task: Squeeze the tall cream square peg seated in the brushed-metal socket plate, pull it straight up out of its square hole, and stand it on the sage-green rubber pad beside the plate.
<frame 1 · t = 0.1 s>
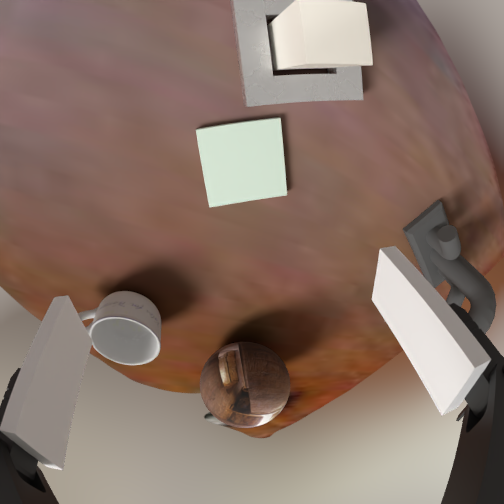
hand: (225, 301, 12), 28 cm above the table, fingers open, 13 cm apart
peg: (312, 39, 25), in the socket plate
teacup: (123, 304, 46), on the table
faucet: (418, 258, 50), on the table
pad: (242, 161, 37), on the table
socket plate: (295, 46, 30), on the table
bronze metal ball: (239, 351, 55), on the table
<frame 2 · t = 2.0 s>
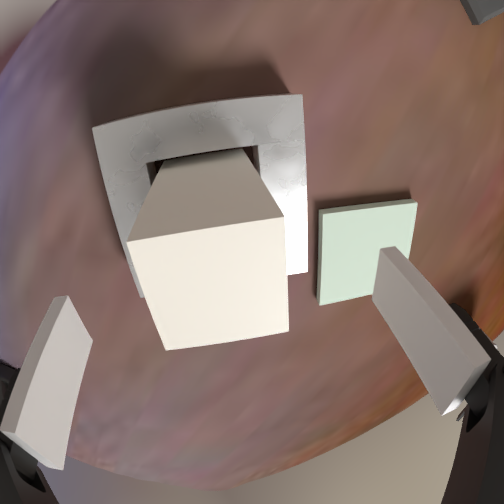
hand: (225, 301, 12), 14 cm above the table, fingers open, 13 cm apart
peg: (210, 225, 18), in the socket plate
faucet: (500, 5, 16), on the table
pad: (365, 250, 29), on the table
socket plate: (208, 190, 24), on the table
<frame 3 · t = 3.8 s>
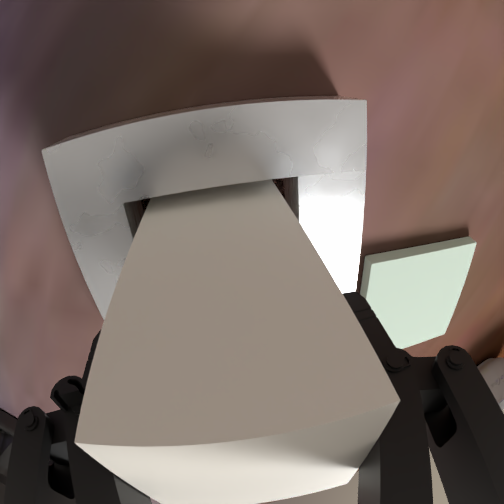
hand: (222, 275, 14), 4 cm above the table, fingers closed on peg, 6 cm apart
peg: (226, 314, 11), in the socket plate, touching gripper
teacup: (469, 378, 35), on the table
pad: (411, 298, 22), on the table
socket plate: (218, 234, 17), on the table
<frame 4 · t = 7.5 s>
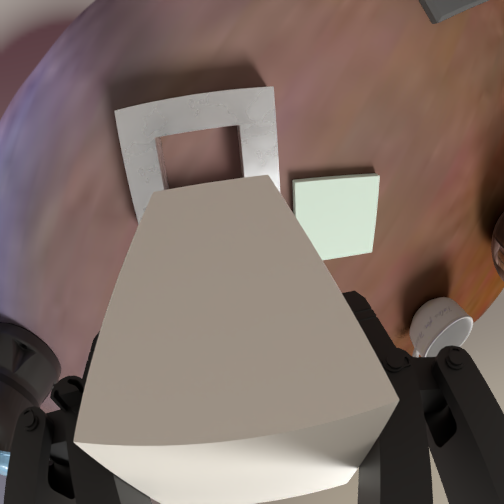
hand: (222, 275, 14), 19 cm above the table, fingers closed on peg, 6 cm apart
peg: (226, 313, 11), point 22 cm above the table, touching gripper
teacup: (421, 318, 48), on the table
faucet: (464, 5, 21), on the table
pad: (335, 217, 35), on the table
socket plate: (202, 162, 29), on the table
bronze metal ball: (500, 224, 40), on the table
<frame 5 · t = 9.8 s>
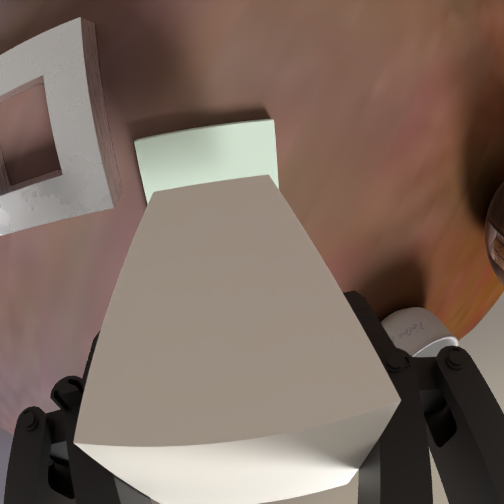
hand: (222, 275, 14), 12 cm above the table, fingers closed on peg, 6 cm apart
peg: (226, 313, 11), point 14 cm above the table, touching gripper
teacup: (386, 335, 37), on the table
pad: (212, 189, 23), on the table
socket plate: (31, 133, 18), on the table
bronze metal ball: (497, 205, 29), on the table
when the fingers open (7 cm above the table, at t = 11.4 s): peg drops 2 cm, resting on pad.
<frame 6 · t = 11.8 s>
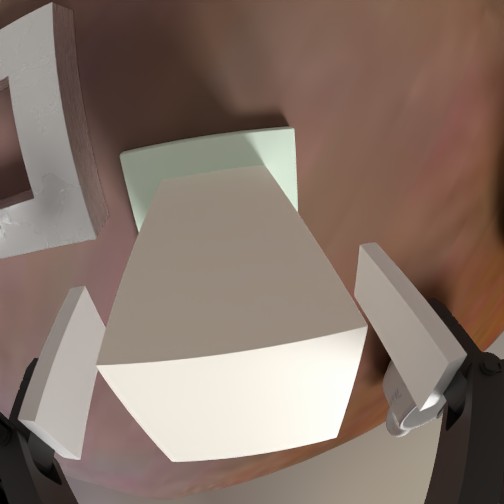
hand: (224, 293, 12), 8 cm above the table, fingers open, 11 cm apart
peg: (226, 282, 13), on the pad, point 8 cm above the table
teacup: (403, 360, 32), on the table
pad: (216, 212, 19), on the table
socket plate: (2, 145, 14), on the table
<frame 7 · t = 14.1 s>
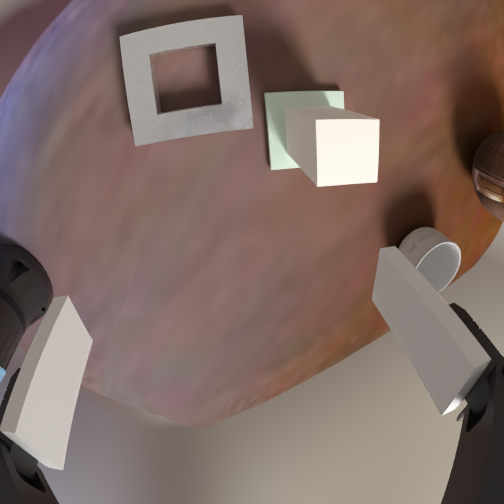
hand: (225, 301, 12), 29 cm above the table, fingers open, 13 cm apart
peg: (325, 138, 30), on the pad, point 8 cm above the table
teacup: (408, 253, 49), on the table
pad: (305, 128, 37), on the table
socket plate: (187, 78, 32), on the table
bronze metal ball: (482, 161, 41), on the table
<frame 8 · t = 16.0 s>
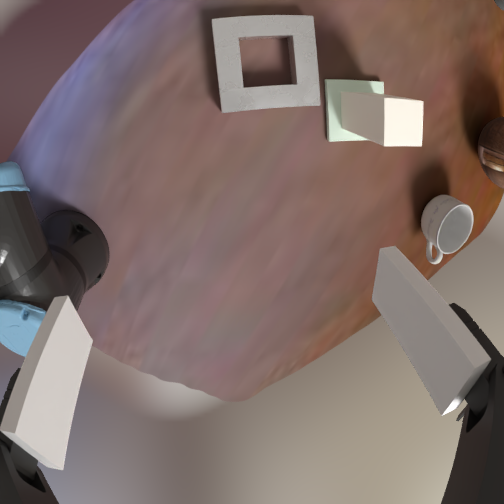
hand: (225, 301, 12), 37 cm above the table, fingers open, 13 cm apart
peg: (378, 115, 37), on the pad, point 8 cm above the table
teacup: (429, 218, 56), on the table
pad: (354, 109, 43), on the table
socket plate: (264, 62, 38), on the table
bronze metal ball: (484, 142, 48), on the table
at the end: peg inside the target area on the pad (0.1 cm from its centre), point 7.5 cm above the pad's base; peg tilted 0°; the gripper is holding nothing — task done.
